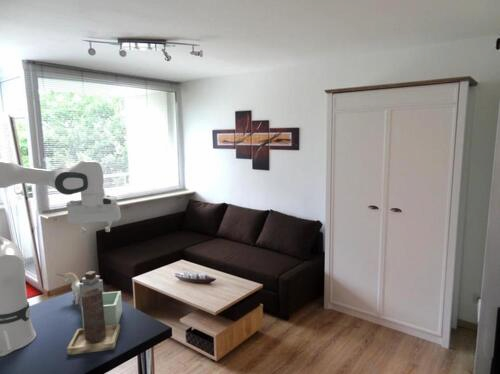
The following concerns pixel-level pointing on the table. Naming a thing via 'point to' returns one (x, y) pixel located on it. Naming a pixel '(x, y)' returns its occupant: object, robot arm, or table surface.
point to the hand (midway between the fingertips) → (95, 232)
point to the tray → (83, 346)
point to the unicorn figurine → (73, 285)
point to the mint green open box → (111, 308)
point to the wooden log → (93, 315)
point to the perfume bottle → (90, 283)
